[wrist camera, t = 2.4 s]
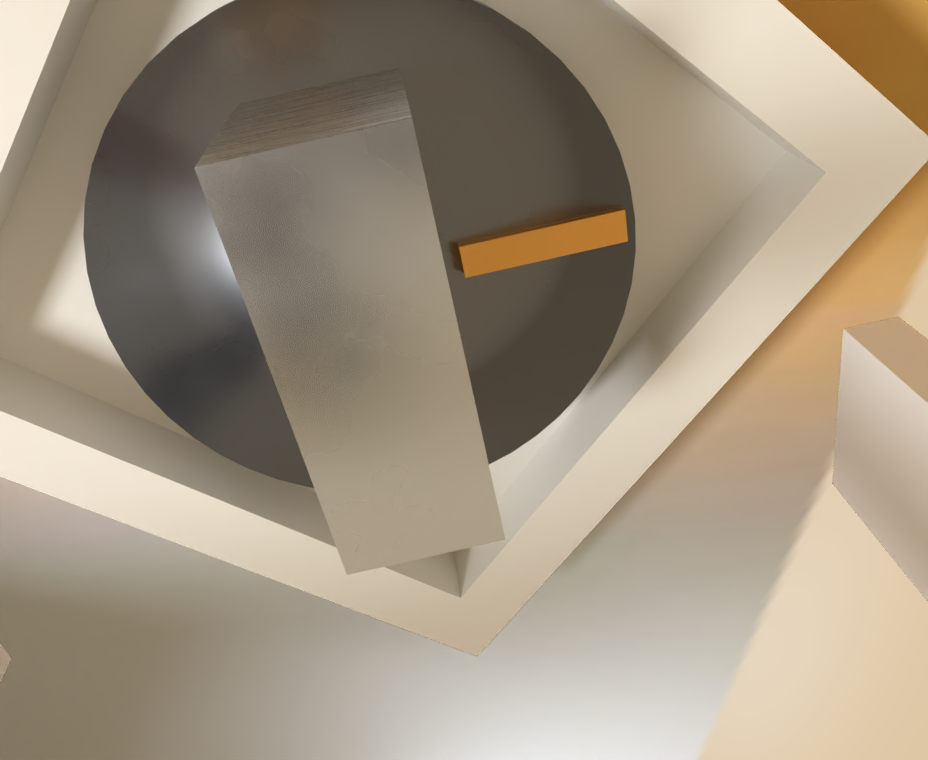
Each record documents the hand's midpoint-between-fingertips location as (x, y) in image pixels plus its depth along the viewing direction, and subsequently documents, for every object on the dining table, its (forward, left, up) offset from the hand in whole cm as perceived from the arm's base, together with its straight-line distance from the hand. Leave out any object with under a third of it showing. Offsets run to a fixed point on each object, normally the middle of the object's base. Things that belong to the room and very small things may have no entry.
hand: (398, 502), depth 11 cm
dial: (0, 0, -10) cm, 11 cm away
